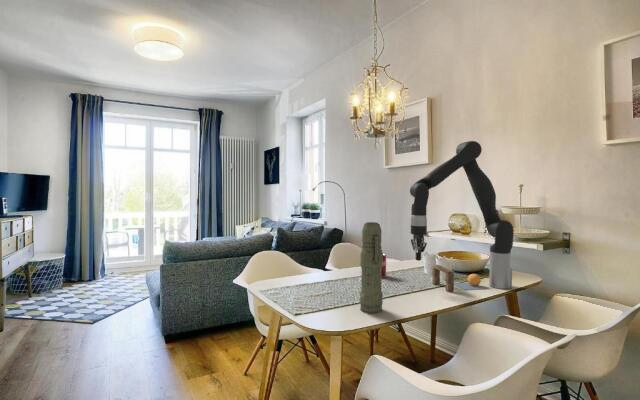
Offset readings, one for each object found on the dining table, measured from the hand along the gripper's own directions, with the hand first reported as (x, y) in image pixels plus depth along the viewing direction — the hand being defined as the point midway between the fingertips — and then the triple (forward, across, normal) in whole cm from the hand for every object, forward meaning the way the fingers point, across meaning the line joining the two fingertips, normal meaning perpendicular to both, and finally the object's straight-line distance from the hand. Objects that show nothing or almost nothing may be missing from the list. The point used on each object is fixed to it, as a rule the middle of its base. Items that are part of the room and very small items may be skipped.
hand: (418, 260), depth 173 cm
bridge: (+14, 0, -13) cm, 19 cm away
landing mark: (+14, 0, -27) cm, 30 cm away
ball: (+11, 0, -30) cm, 32 cm away
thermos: (+14, -25, +32) cm, 43 cm away
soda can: (+14, +27, +10) cm, 32 cm away
